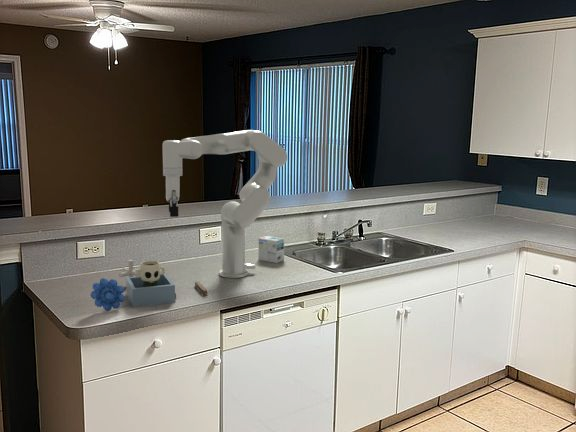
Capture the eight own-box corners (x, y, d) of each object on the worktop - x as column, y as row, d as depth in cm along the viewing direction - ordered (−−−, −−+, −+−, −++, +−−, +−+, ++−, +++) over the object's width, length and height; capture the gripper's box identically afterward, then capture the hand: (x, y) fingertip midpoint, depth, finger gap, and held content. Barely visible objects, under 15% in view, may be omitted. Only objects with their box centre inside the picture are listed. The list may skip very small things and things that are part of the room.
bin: (166, 289, 226) (166, 273, 225) (175, 302, 212) (174, 285, 211) (126, 294, 220) (126, 277, 219) (132, 307, 206) (132, 289, 205)
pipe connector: (134, 279, 238) (133, 255, 236) (149, 284, 232) (148, 260, 230) (113, 284, 231) (112, 260, 229) (128, 290, 225) (127, 265, 223)
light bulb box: (284, 260, 273) (284, 238, 271) (276, 263, 267) (277, 240, 265) (265, 256, 278) (266, 235, 276) (257, 259, 272) (258, 237, 270)
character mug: (138, 301, 210) (137, 267, 208) (133, 295, 217) (132, 262, 214) (167, 297, 215) (167, 263, 213) (162, 291, 222) (161, 259, 219)
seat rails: (199, 286, 231) (198, 281, 231) (207, 295, 221) (207, 290, 220) (165, 289, 226) (165, 284, 226) (171, 299, 215) (171, 294, 215)
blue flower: (93, 317, 196) (92, 283, 194) (89, 310, 202) (88, 277, 199) (128, 311, 201) (127, 278, 199) (123, 305, 207) (122, 273, 205)
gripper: (162, 169, 235) (163, 210, 238) (163, 174, 219) (164, 218, 222) (181, 169, 237) (181, 210, 240) (183, 174, 220) (184, 218, 224)
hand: (173, 214), depth 231 cm, fingers open, 9 cm apart
